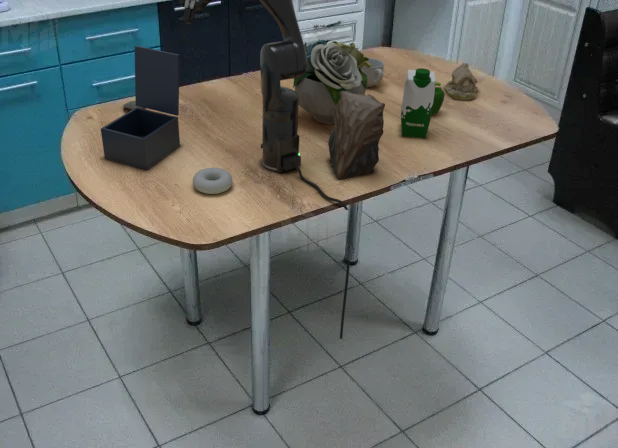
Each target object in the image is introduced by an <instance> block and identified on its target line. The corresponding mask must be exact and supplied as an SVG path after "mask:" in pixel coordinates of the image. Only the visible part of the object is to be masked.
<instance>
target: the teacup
mask: <svg viewBox="0 0 618 448" xmlns="http://www.w3.org/2000/svg"><path fill="white" fill-rule="evenodd" d="M368 58H369V60H368V61H367V62H369V63H370V64H371V67H369V68H368V67H365V66H364V67H362V68H361V71H362V72H363V73H364V74H366V76H367V78H368V80H367V88H372V87H373V88H374V87H375V86H376V85H378V84H380V82H381V81H383V79H384V68H385V62H384V61H382V60H380V59H378V58H373V57H368Z"/></svg>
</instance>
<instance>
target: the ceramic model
mask: <svg viewBox="0 0 618 448" xmlns="http://www.w3.org/2000/svg"><path fill="white" fill-rule="evenodd" d="M477 84H478V79H477V78H476V77H475V76H474V74H473V73H472V71H471V70H470V68H469V64H468V62H467V63H466V62H465V63H464V62H463V63H461V64H460V65H459V66H457V67H456V68H455V69H454V70H452V72H451V80H449V81H447V83H446V84H445V87H444V90H445V91H446V93H447V95H449V96H450V98H452V99H454V100H461V101H462V100H463V101H464V100H465V101H467V100H468V101H469V100H473V99H475V98H476V97H477V95H476V94H477V92H478V86H476V85H477Z"/></svg>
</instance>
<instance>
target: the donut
mask: <svg viewBox="0 0 618 448" xmlns="http://www.w3.org/2000/svg"><path fill="white" fill-rule="evenodd" d="M193 175H194V176H193V177H192V185H193V187H194V189H196V190H197V191H198V192H201V193H203V194H206V195H217V194H221V193H222V194H223V193H224V192H226V191H228V190H229V189H230V188H231V186H232V185H233V176H232V174H231V172H229V171H227V170H226V169H224V168H221V167H206V168H202V169H199V170H198V171H197V172H196V173H195V174H193Z"/></svg>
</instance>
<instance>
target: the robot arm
mask: <svg viewBox="0 0 618 448" xmlns="http://www.w3.org/2000/svg"><path fill="white" fill-rule="evenodd" d="M177 1H178V4H179V5H180V6H181V7H183V8H184V12H183V16H182V20H183V22H184V23H185V24H187V25H192V24H193V23H194V22H195V19H196V15H197V12H198V11H203V10H204V9H206V7H207V6H208V5H209V4H210V3H211V2H212V1H213V0H177ZM258 1H259V2H260V3H261V5H262V6H263V7H264V8H265V9H266V11H267V12H268V13H269V14H270V15H271V16H272V18H273V19H274V21H275V22H276V24H277V26H278V28H279V30H280V33H281V38H282V41H275V42H274V41H273V42H268V43H264V44H263V46H262V47H261V50H260V52H259V69H260V91H261V96H262V97H261V98H262V137H261V138H262V142H261V144H260V150H261V151H262V153H261V154H262V157H261V158H262V159H261V165H262V166H263V167H264V168H265V169H267V170H269V171H273V172H277V173H279V174H281V173H284V172H287V171H291V170H294V169H296V170H297V172H298V175H299V178H300V179H301V180H302V181H303V182H304V183H306V184H308V185H310V186H312V187H313V188H315V189H316V190H317V191H318V192H319V194H320V195H321V196H322V197H323V198H325V199H326V200H328V201H331V202H336V203H338V204H340V205H341V206H342V207H343V209H344V210H345V211H349V207H348V206H347V205H346V203H345V202H344V201H343V200H340V199H338V198H334V197H330V196H328V195H327V194H325V193H324V191H323V190H322V189H321V188H320V187H319V185H317V184H316V183H315V182H312V181H309V180H308V179H306V178H305V176H304V175H303V173H302V170H301V169H300V167H301V165H302V164H301V163H302V156H301V154H300V134H298V131H299V107H300V105H299V96H298V94H297V92H295V89H294V90H293V88H292V89H291V88H289V87H285V86H282V85H281V81H286V80H291V79H293V80H294V78H298V77H302V76H304V75H305V73H306V71H307V56H306V51H305V47H304V44H305V42H304V40H303V36H302V33H301V30H300V29H301V28H300V25H299V22H298V18H297V15H296V11H295V7H294V1H293V0H258ZM350 262H351V261H350V260H347V261H346V270H345V282H344V283H345V284H344V292H343V300H342V310H341V319H340V329H339V330H340V331H339V339H340V340H342V339H343V336H344V335H343V334H344V323H345V322H344V321H345V314H346V303H347V295H348V287H349V277H350V265H351V263H350Z"/></svg>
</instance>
